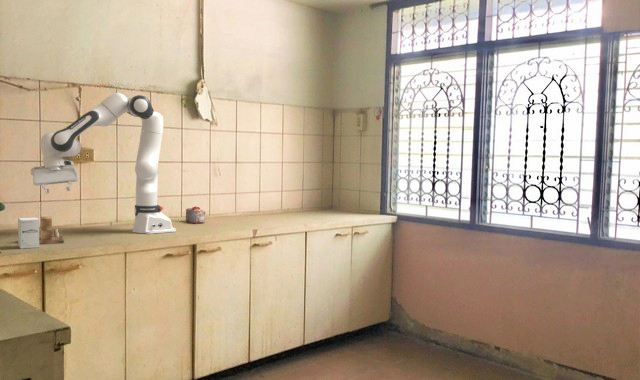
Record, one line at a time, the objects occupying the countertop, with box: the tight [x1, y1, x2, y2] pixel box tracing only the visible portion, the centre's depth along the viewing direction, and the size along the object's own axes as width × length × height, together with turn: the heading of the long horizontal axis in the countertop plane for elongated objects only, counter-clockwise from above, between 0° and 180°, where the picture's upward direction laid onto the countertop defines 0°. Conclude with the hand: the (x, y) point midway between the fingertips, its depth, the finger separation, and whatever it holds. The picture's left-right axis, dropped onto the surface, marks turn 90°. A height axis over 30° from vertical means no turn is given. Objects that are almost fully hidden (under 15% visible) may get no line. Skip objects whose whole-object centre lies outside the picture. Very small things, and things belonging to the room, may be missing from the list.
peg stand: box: [39, 228, 65, 245], centre depth 246 cm, size 14×14×5 cm
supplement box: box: [17, 217, 40, 250], centre depth 232 cm, size 7×7×13 cm
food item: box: [185, 206, 206, 225], centre depth 321 cm, size 14×8×10 cm, turn 46°
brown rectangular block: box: [40, 216, 53, 240], centre depth 246 cm, size 4×7×10 cm, turn 29°
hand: (58, 191), depth 259 cm, fingers open, 8 cm apart
